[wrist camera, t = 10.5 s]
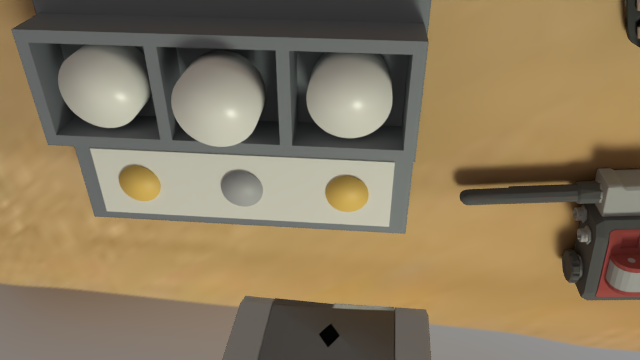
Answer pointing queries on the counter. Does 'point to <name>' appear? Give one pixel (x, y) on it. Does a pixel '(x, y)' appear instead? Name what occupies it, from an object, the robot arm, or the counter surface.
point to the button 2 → (350, 93)
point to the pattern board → (274, 122)
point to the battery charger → (632, 20)
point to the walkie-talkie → (590, 229)
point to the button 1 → (105, 84)
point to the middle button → (219, 98)
